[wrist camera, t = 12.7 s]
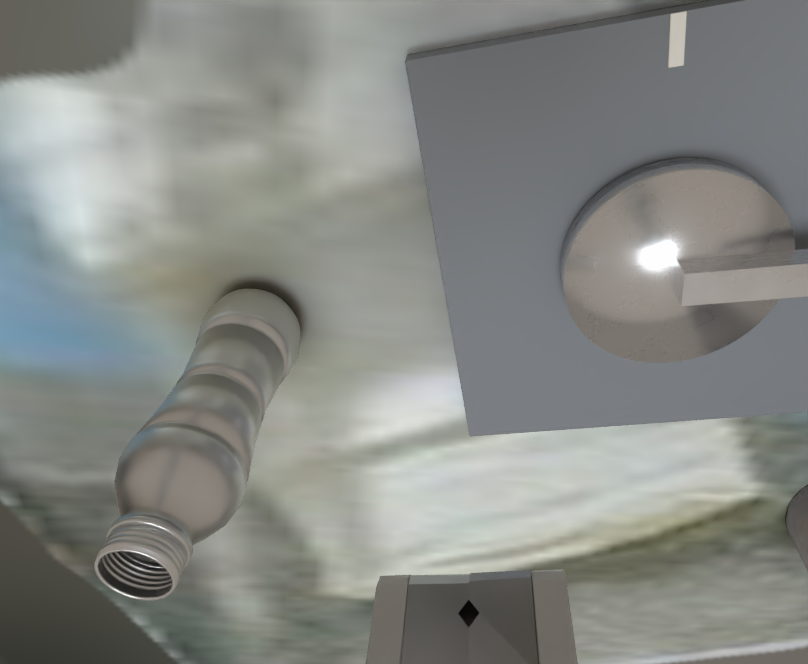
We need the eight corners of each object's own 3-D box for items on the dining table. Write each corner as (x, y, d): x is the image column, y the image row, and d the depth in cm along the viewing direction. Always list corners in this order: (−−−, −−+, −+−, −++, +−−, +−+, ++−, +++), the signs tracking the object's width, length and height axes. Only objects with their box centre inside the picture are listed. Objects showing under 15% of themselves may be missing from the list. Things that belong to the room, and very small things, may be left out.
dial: (561, 350, 41) (576, 424, 35) (558, 171, 34) (575, 227, 28) (859, 329, 38) (928, 407, 32) (919, 130, 31) (1019, 184, 26)
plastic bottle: (317, 292, 42) (218, 549, 26) (297, 367, 46) (200, 632, 29) (221, 263, 41) (57, 507, 25) (209, 342, 45) (61, 598, 29)
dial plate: (407, 54, 33) (404, 61, 32) (973, -48, 29) (998, -45, 27) (469, 422, 47) (469, 437, 46) (853, 393, 43) (866, 409, 42)
